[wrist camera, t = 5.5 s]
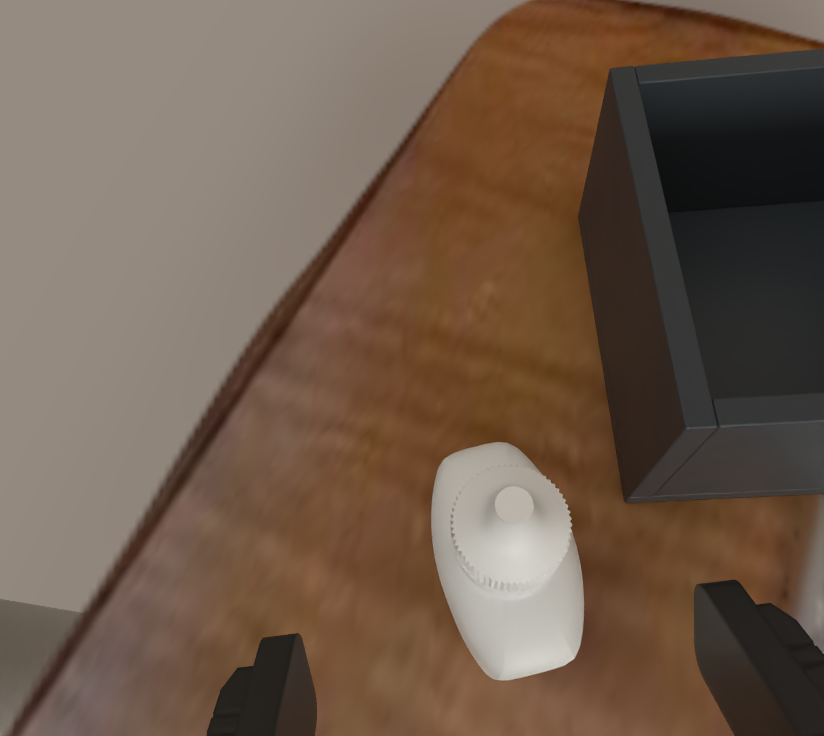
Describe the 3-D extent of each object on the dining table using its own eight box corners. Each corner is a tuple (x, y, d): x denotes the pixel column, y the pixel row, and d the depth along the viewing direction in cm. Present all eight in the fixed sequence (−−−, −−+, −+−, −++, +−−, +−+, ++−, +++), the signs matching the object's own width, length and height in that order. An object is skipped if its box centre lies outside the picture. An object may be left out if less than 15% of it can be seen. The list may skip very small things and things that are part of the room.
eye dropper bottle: (576, 524, 24) (659, 392, 13) (544, 695, 21) (613, 711, 11) (455, 493, 24) (437, 344, 14) (413, 655, 22) (352, 631, 11)
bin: (624, 503, 24) (685, 429, 17) (577, 215, 29) (609, 67, 22) (1000, 486, 23) (1234, 399, 16) (881, 192, 28) (1015, 30, 21)
